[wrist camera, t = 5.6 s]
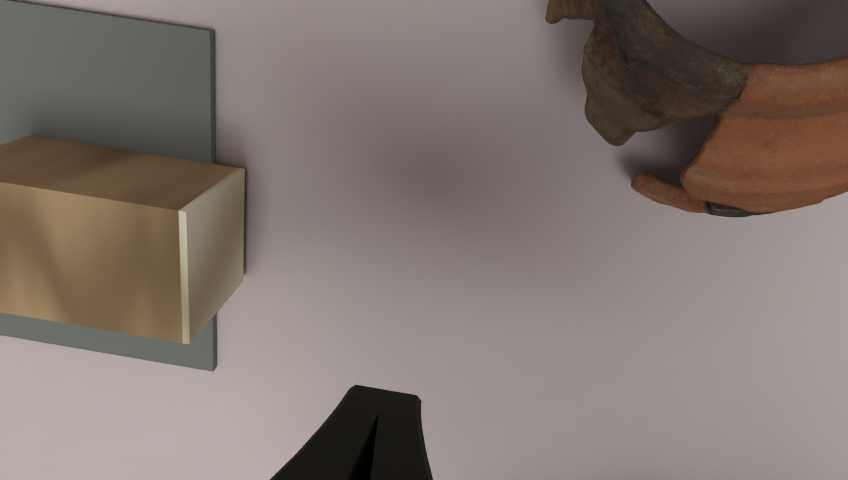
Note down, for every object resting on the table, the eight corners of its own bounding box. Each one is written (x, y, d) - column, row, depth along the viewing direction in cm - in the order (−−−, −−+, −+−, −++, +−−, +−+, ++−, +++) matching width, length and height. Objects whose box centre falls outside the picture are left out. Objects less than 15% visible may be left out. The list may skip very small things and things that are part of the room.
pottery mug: (532, 201, 19) (492, 123, 11) (598, -75, 20) (604, -334, 12) (979, 290, 16) (1373, 268, 8) (1044, -47, 16) (1476, -386, 8)
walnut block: (189, 344, 17) (-50, 303, 17) (243, 280, 20) (46, 248, 21) (186, 212, 15) (-78, 169, 15) (244, 169, 19) (31, 135, 19)
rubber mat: (216, 366, 22) (213, 371, 22) (-15, 327, 23) (-21, 331, 22) (214, 30, 17) (209, 31, 17) (-78, -14, 18) (-87, -14, 18)
